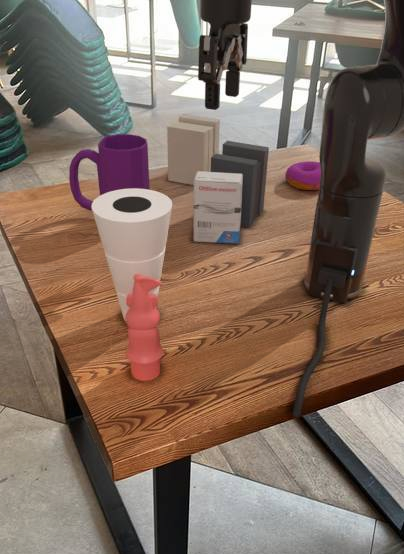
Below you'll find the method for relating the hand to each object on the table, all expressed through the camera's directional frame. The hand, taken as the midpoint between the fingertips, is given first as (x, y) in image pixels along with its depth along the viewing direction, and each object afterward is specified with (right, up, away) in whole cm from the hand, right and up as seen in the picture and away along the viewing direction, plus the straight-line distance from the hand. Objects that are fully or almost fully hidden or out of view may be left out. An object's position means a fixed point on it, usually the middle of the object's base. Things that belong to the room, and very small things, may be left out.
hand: (222, 102), depth 93 cm
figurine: (-11, -43, -15) cm, 47 cm away
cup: (-13, -35, -5) cm, 38 cm away
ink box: (0, -19, +15) cm, 24 cm away
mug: (-21, -14, +21) cm, 33 cm away
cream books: (-5, 0, +38) cm, 38 cm away
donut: (+20, -3, +36) cm, 41 cm away
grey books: (+4, -13, +23) cm, 26 cm away
